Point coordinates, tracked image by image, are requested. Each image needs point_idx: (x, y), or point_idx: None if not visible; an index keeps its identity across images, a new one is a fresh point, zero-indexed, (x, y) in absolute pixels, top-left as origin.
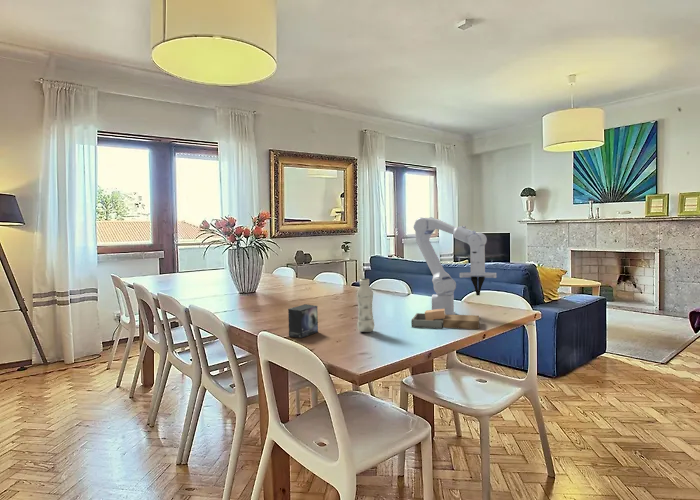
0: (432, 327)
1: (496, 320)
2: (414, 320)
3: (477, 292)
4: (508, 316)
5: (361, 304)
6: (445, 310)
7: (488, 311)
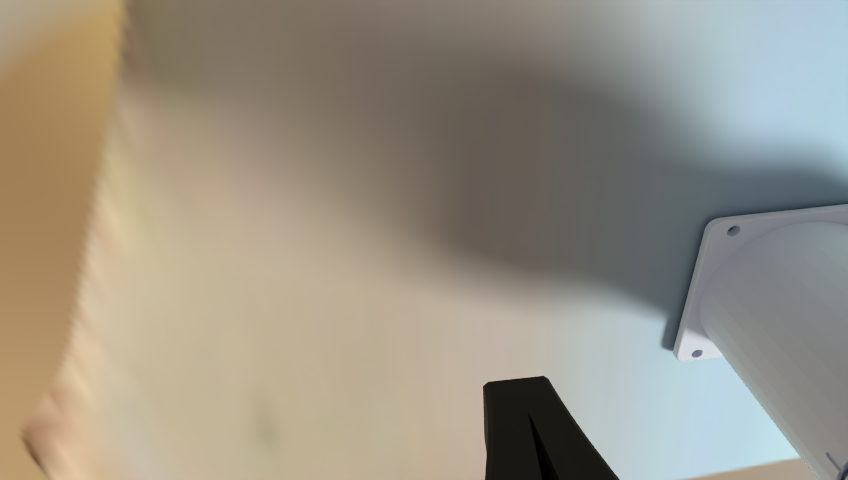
0: None
1: (264, 172)
2: None
3: (540, 419)
4: (206, 352)
5: None
6: (832, 249)
7: (402, 453)
